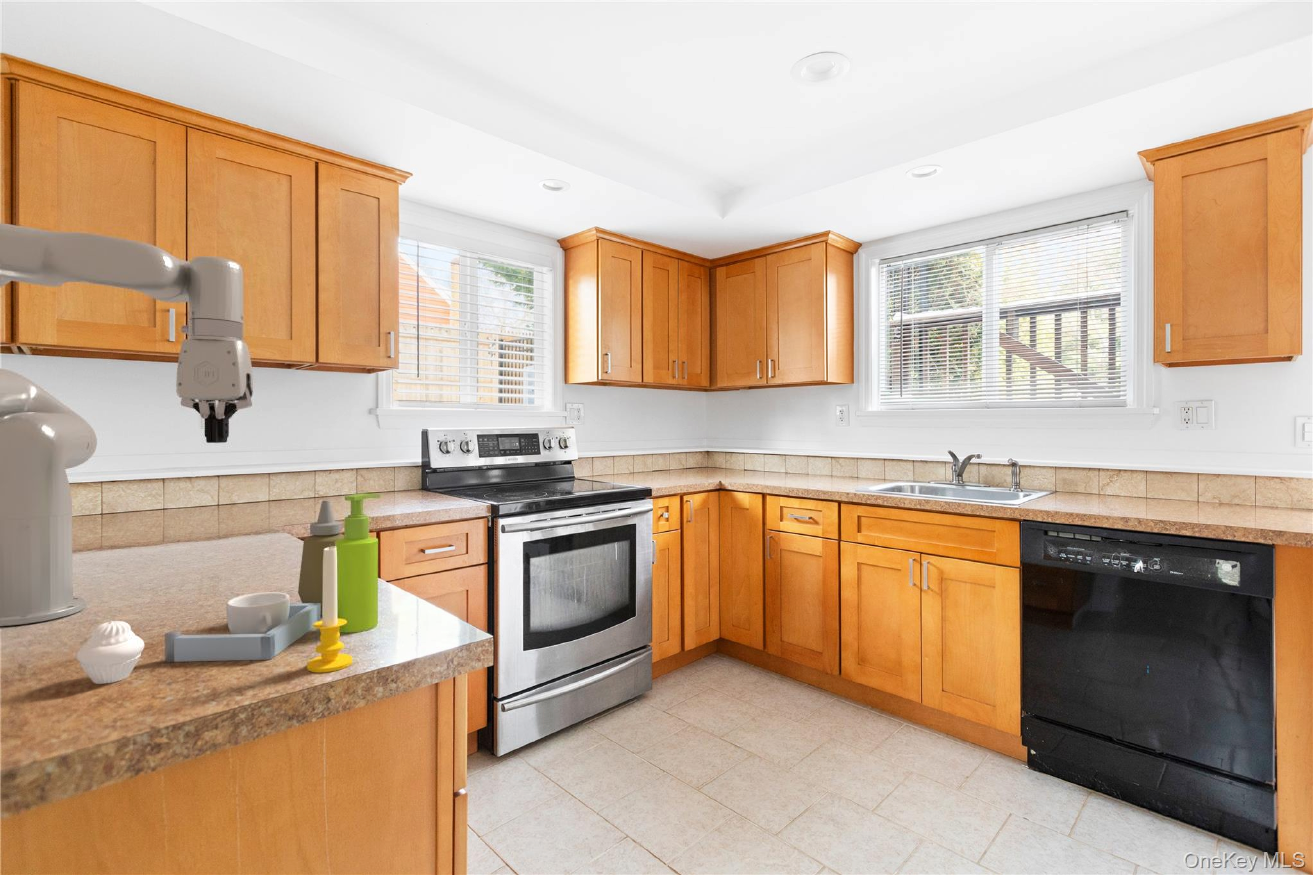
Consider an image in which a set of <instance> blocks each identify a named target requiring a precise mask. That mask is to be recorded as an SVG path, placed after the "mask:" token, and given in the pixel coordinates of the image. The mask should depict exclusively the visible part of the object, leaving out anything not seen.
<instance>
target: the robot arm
mask: <svg viewBox="0 0 1313 875" xmlns="http://www.w3.org/2000/svg"><path fill="white" fill-rule="evenodd" d="M243 271H244V270H243V268H242V266H241V265H240V264H239V263H238V262H236V261H234V260H233V259H232V260H231V259H229V258H225V257H220V256H209V255H207V256H206V255H203V256H195V257H194V258H192V259H191V260H190V261H187V260H185V259H184V260H183V259H181V258H178V257H176V256H174V255H172V254H171V253H169V252H167V251H166V250H164V249H162V248H161V247H158V246H155V245H153V244H151V243H147V242H142V241H138V240H132V239H126V238H119V237H115V236H109V235H102V234H98V233H97V234H96V233H89V232H76V231H75V232H73V231H69V232H68V231H54V230H53V231H52V230H46V229H41V228H36V227H28V226H21V225H14V224H8V223H4V222H3V223H2V222H0V288H2V287H4V286H5V285H7V284H9V283H10V282H17V283H25V284H29V285H30V284H31V285H37V286H45V287H52V288H53V287H61V286H63V285H64V284H65V283H84V284H85V283H86V284H93V285H98V286H99V285H100V286H107V287H112V288H113V287H114V288H120V289H127V290H130V291H131V290H132V291H135V292H139V293H142V294H144V295H146V296H148V297H150V298H152V299H155V300H157V301H159V302H164V303H173V304H175V303H176V304H177V303H188V320H187V325H181V333H182V334H187V337H188V339H187V338H185V339H183V340H182V343H181V346H180V350H179V351H180V352H179V355H178V362H177V368H176V369H177V370H176V380H175V381H176V382H175V387H176V389H175V390H176V395H177V396H178V398H181V400H180V405H181V406H182V407H185V408H189V409H194V410H195V411H196V412H197V413H198V414H200V417H201V419H203V420H204V437H205V440H206V441H205V442H206V443H208V444H220V443H221V444H222V443H223V444H224V443H227V442H228V438H229V436H230V435H229V434H230V419H232V418H233V416H234V415H235V413H237V412H238V411H239V410H243V409H247V408H248V409H249V408H251V407H253V402H252V397H253V393H254V378H253V377H254V376H253V367H252V359H251V354H250V350H249V347H248V344H247V342H244V272H243ZM197 400H198V401H197ZM216 401H217V402H216ZM97 444H98V438H97V434H96V432H95V430H94V429H93V427H92V426H91V424H90V423H89V422H88V421H87V420H85V418H83V417H82V416H80V415H79V414H78V413H76V412H75V411H74V410H73V409H71V408H70V407H69V406H67V405H66V404H65V403H63V402H61V401H60V400H59V399H57V398H56V397H54V396H53V395H52V394H50V392H48V391H46V390H45V389H44V388H42V386H40V385H38V384H37V383H35V382H34V381H33V380H31V379H30V378H28V377H26V376H24V375H21V374H19V373H17V372H15V371H12V370H10V369H6V368H0V627H6V626H9V627H10V626H20V625H26V624H28V625H29V624H34V623H41V622H45V621H51V620H55V619H59V618H63V617H66V616H67V617H68V616H70V615H73V614H76V613H78V612H80V611H82V610H83V609H85V608H86V605H87V603H86V599H85V598H83V597H79V596H73V595H74V594H73V593H74V592H73V591H74V589H73V587H74V586H73V585H74V584H73V582H74V581H73V580H74V578H73V577H74V576H73V575H74V574H73V505H72V502H73V500H72V499H73V498H72V492H71V486H70V482H69V479H68V475H67V469H71V468H75V467H78V466H80V465H83V464H84V463H86V462H87V461H89V459H91V458H92V456H93V455H94V453H95V452H96V449H97Z"/></svg>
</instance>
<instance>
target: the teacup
mask: <svg viewBox="0 0 1313 875" xmlns="http://www.w3.org/2000/svg"><path fill="white" fill-rule="evenodd" d="M290 604H291V601H290V595H289V594H287V593H285V592H276V591H269V592H268V591H264V592H256V593H255V592H254V593H248V594H244V595H239V596H235V597H233V598H230V599H229V600H228V601H227V602H226V607H225V610H226V619H227V621H226V622H227V627H228V630H229V631H230V634H266V633H267V632H269V631H270V630H272V629H273V628H275V627H276V626H278V625H280V624H281V623H283V622H284V621H286V620H287V619H288V616H289V606H290Z"/></svg>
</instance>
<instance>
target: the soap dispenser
mask: <svg viewBox="0 0 1313 875" xmlns="http://www.w3.org/2000/svg"><path fill="white" fill-rule="evenodd" d="M371 498H372V499H373V498H374V499H380V498H381V495H380V494H377V493H376V494H375V493H364V492H361V493H360V492H359V493H354V494H349V495H346V496H344V501H349V502H350V514H348V515H347V516H345V517H344V518H343V520H344V522H343V523H344V525H343V526H344V527H343V528H344V531H343V532H344V534H343V535H344V538H343V539H340V540H337V541H335V546H336V551H337V619H345V620H346V621H347V623H346V624H344V625H342V626H340V630H339V633H346V634H348V633H349V634H351V633H352V634H353V633H359V632H365V631H368V630H372V629H374V628H376V627H377V626H378V625H379V624H378V622H379V621H378V620H379V619H378V616H379V615H378V614H379V613H378V612H379V611H378V610H379V609H378V608H379V605H378V604H379V603H378V602H379V596H378V594H379V593H378V592H379V591H378V590H379V583H378V582H379V580H378V579H379V539H378V538H377V537H372V536H370V517H369V515H366V514H365V513H364V500H366V499H371ZM377 624H378V625H377Z"/></svg>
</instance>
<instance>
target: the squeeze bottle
mask: <svg viewBox="0 0 1313 875" xmlns="http://www.w3.org/2000/svg"><path fill="white" fill-rule="evenodd" d="M333 512H334V511H333V508H332V503H331V500H329V499H328V500H322V501H321V504H320V508H319V513H318V518H317V521H316V522H312V523H310V524H309V535H310V536H307V537H305V539H304V540H303V544H302V553H301V554H302V555H301V562H300V572H299V580H298V581H299V582H298V589H297V590H298V591H297V593H298V596H299V598H300V600H301V601H300V602H301V603H321V616H322V606H323V553H324V549H325V548H327V547H330V544H331V546H335V541H337V540H340V539H343V538H344V534H343V533H342V532H343V531H342V530H343V527H342V526H343V524H342V522H341V521H336V520H335V517H334V513H333Z"/></svg>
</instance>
